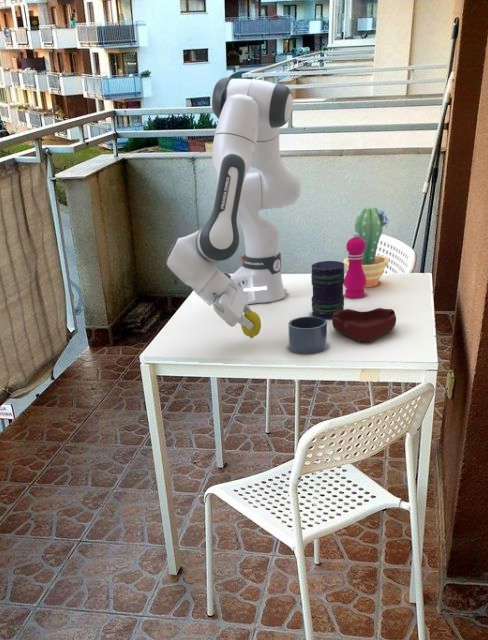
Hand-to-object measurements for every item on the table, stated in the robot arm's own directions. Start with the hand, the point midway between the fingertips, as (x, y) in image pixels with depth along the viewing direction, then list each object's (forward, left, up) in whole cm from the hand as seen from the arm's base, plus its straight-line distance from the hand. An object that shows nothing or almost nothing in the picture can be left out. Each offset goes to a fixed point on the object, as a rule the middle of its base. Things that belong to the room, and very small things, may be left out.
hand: (253, 322), depth 192 cm
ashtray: (+22, +23, -7) cm, 32 cm away
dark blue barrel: (+3, +33, -7) cm, 33 cm away
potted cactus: (-4, +66, -7) cm, 66 cm away
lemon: (-1, 0, -5) cm, 5 cm away
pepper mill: (0, +53, -7) cm, 53 cm away
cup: (+14, +7, -7) cm, 17 cm away
